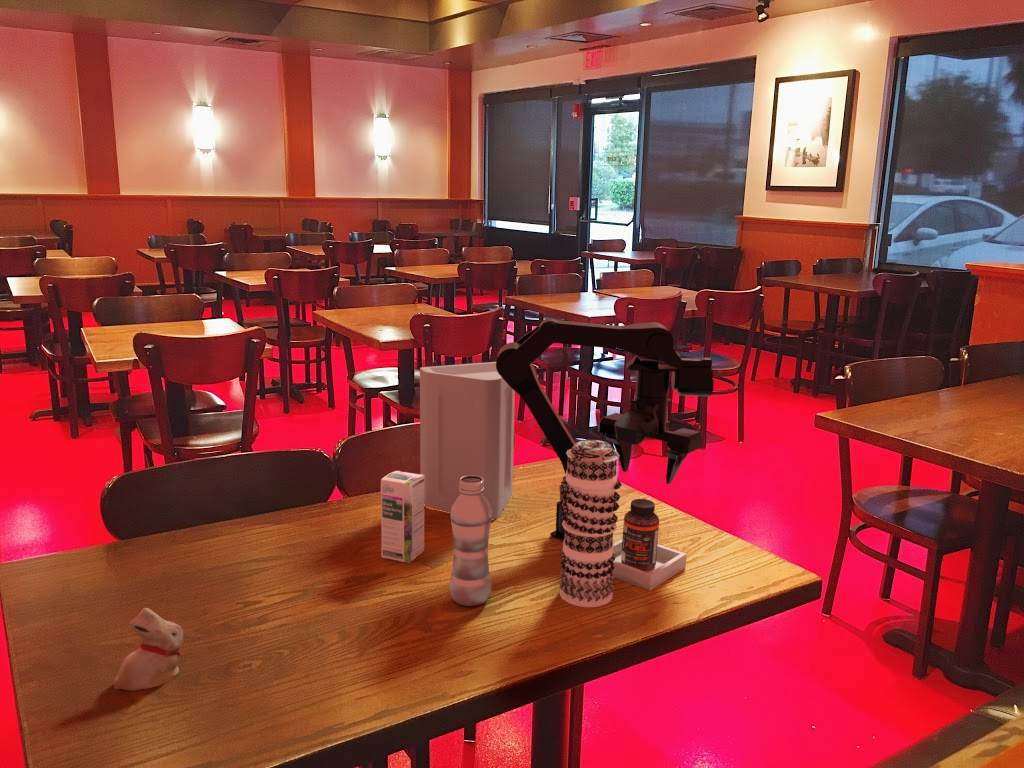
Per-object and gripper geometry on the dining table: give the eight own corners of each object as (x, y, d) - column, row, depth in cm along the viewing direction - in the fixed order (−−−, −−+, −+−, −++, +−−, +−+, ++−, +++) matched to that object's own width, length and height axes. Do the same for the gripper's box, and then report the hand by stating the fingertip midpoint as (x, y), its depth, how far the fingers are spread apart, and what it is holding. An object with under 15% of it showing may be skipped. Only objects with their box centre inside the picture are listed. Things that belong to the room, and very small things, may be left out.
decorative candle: (582, 575, 137) (589, 431, 131) (626, 595, 130) (635, 445, 125) (545, 593, 131) (550, 443, 125) (589, 614, 124) (597, 457, 118)
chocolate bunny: (175, 690, 103) (169, 618, 101) (110, 692, 103) (103, 619, 101) (188, 665, 109) (183, 597, 107) (127, 667, 108) (120, 598, 106)
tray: (591, 568, 139) (591, 554, 139) (628, 547, 148) (629, 534, 147) (649, 590, 132) (650, 576, 132) (685, 567, 141) (686, 553, 140)
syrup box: (380, 558, 142) (378, 478, 138) (397, 545, 147) (396, 468, 144) (409, 564, 139) (408, 484, 136) (425, 551, 145) (425, 473, 141)
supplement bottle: (619, 570, 138) (623, 507, 135) (622, 555, 143) (625, 494, 141) (655, 574, 136) (659, 510, 134) (656, 559, 142) (660, 497, 140)
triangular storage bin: (445, 527, 155) (445, 383, 148) (419, 501, 168) (418, 367, 161) (535, 513, 163) (539, 375, 157) (503, 488, 176) (506, 361, 170)
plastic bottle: (497, 594, 130) (499, 475, 125) (481, 614, 123) (483, 489, 119) (459, 587, 132) (460, 469, 127) (442, 607, 125) (442, 483, 121)
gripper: (582, 392, 146) (578, 476, 149) (675, 412, 134) (668, 502, 137) (617, 382, 154) (613, 462, 157) (707, 400, 142) (701, 485, 146)
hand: (646, 477), depth 149 cm, fingers open, 9 cm apart
